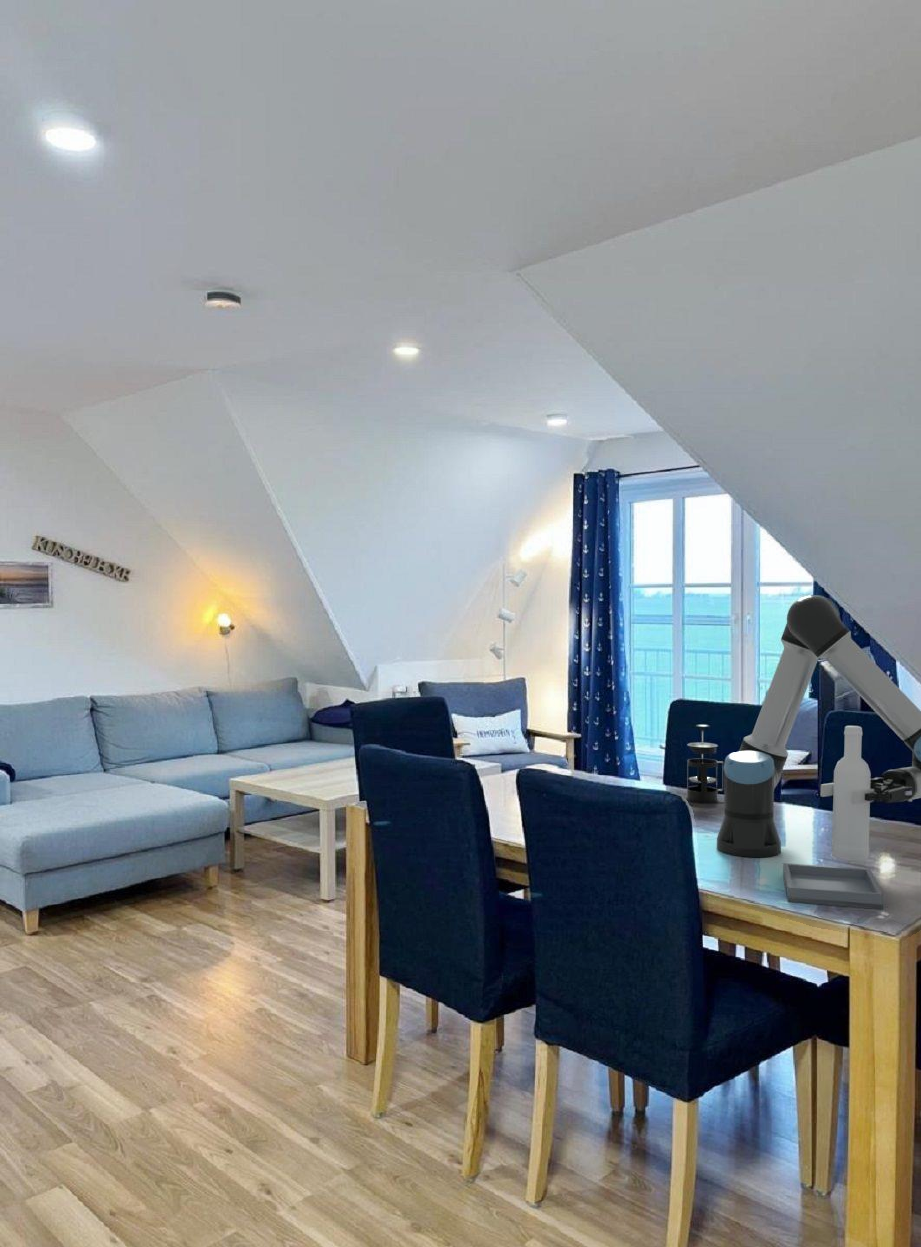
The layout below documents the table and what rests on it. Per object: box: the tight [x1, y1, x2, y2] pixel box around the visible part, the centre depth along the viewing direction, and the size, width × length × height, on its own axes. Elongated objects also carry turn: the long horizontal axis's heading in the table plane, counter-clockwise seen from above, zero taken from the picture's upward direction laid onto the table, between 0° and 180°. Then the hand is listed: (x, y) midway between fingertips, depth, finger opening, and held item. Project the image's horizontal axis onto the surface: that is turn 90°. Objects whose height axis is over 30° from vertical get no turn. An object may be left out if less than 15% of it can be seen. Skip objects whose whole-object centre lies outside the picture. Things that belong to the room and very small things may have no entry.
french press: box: [686, 724, 725, 804], centre depth 289 cm, size 12×9×23 cm
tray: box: [782, 862, 884, 910], centre depth 201 cm, size 18×18×3 cm
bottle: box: [831, 725, 872, 863], centre depth 216 cm, size 8×8×30 cm
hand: (837, 794), depth 213 cm, fingers closed on bottle, 8 cm apart
